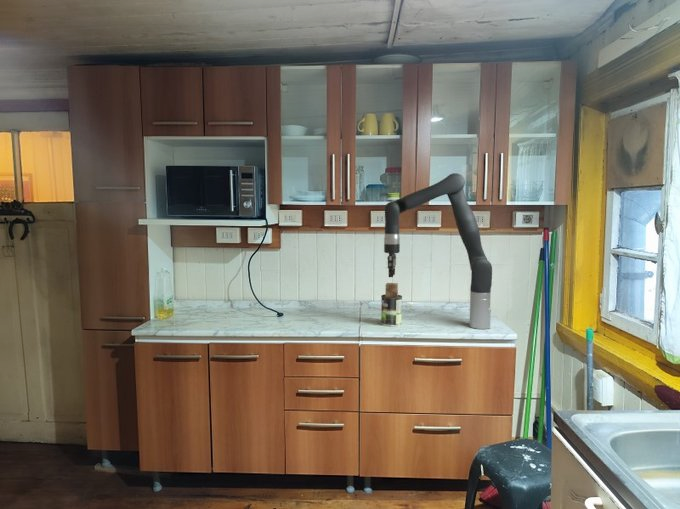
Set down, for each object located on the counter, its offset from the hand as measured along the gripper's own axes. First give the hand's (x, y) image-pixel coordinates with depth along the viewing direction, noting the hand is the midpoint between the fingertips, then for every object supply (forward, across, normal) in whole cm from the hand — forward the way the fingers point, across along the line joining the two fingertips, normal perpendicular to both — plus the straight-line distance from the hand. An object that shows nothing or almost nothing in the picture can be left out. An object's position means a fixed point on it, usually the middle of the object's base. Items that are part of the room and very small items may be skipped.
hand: (391, 276), depth 208 cm
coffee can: (+24, 0, 0) cm, 24 cm away
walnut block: (+10, 0, 0) cm, 10 cm away
